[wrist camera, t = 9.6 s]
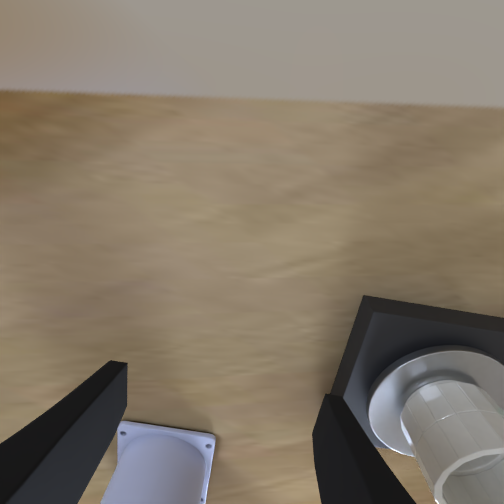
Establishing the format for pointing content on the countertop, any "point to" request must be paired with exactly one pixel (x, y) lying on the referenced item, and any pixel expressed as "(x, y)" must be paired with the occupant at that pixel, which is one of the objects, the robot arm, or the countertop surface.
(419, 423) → the cup
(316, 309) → the countertop surface
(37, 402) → the countertop surface
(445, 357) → the scale pan
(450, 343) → the scale
